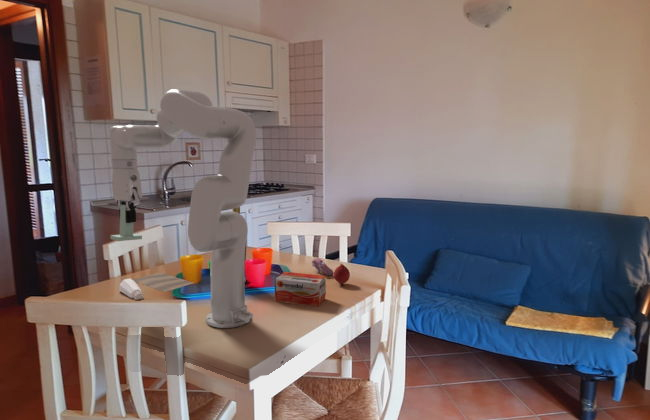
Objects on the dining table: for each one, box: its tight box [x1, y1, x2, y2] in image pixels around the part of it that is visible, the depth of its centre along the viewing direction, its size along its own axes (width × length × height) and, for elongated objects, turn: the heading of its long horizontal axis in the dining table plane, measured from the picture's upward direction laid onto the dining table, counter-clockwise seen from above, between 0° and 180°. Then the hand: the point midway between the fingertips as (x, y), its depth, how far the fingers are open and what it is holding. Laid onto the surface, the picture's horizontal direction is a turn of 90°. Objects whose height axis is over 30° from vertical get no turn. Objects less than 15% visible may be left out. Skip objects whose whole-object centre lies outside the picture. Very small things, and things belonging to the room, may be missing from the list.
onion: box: [333, 263, 351, 286], centre depth 162 cm, size 6×6×8 cm
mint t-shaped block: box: [109, 205, 143, 242], centre depth 146 cm, size 5×8×11 cm, turn 144°
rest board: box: [132, 272, 194, 293], centre depth 160 cm, size 20×12×1 cm, turn 54°
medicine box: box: [274, 271, 327, 308], centre depth 146 cm, size 15×8×8 cm, turn 74°
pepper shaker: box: [118, 278, 144, 301], centre depth 146 cm, size 5×5×11 cm
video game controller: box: [311, 258, 334, 276], centre depth 176 cm, size 10×5×7 cm, turn 26°
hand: (128, 221), depth 146 cm, fingers closed on mint t-shaped block, 3 cm apart
